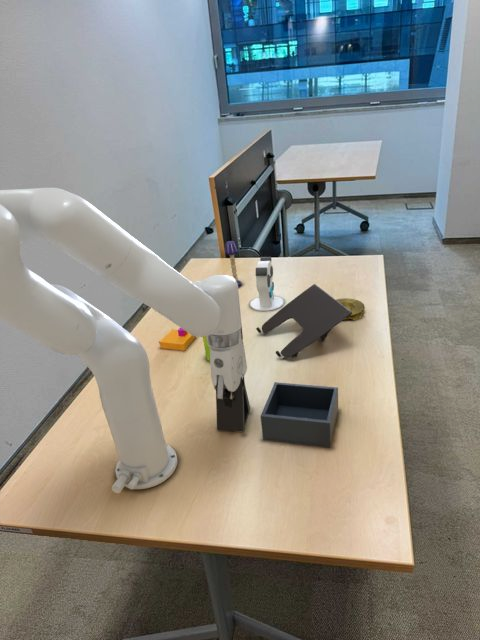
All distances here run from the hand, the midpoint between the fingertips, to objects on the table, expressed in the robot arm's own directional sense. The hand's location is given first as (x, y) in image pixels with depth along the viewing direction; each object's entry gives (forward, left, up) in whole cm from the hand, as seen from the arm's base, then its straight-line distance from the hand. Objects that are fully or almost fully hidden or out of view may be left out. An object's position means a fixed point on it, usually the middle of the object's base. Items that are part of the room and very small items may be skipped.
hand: (232, 406), depth 108 cm
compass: (+58, -18, -4) cm, 61 cm away
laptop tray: (+40, -7, -4) cm, 41 cm away
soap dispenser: (+27, +14, -4) cm, 30 cm away
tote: (+1, -15, -4) cm, 16 cm away
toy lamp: (+77, +25, -4) cm, 81 cm away
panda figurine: (+62, +9, -4) cm, 62 cm away
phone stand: (0, 0, -4) cm, 4 cm away
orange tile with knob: (+33, +29, -4) cm, 44 cm away
